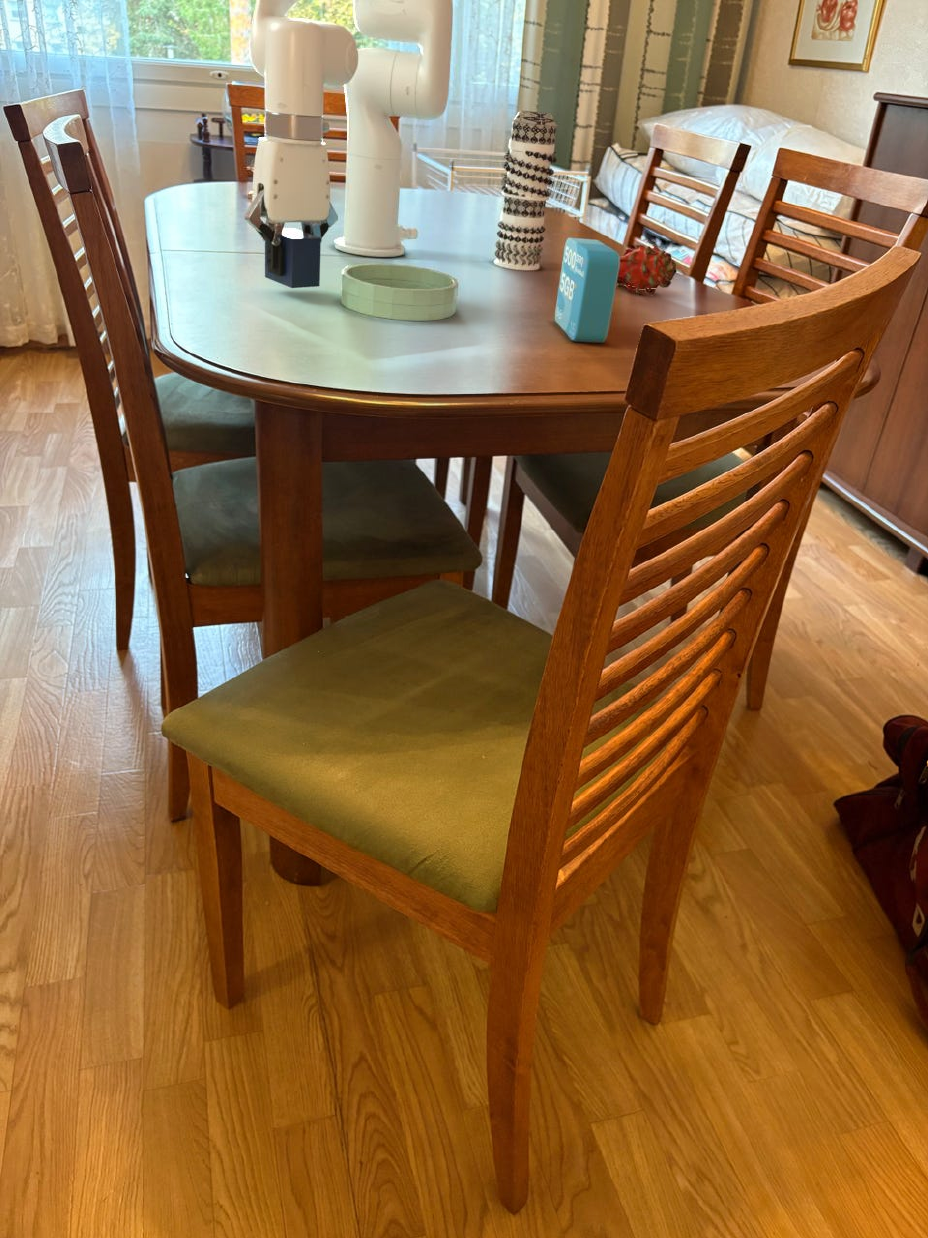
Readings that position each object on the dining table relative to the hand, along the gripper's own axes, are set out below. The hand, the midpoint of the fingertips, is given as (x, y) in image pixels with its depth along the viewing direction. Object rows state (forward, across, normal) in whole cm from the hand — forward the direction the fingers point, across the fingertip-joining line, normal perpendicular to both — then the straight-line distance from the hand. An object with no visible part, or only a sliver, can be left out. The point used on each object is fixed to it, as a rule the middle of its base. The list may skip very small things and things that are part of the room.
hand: (292, 271), depth 135 cm
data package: (+4, -29, +30) cm, 42 cm away
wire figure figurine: (+3, -46, -79) cm, 91 cm away
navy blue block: (+1, 0, 0) cm, 1 cm away
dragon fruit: (+4, -62, +14) cm, 63 cm away
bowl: (+4, -12, +10) cm, 16 cm away
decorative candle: (+3, -55, -9) cm, 56 cm away
